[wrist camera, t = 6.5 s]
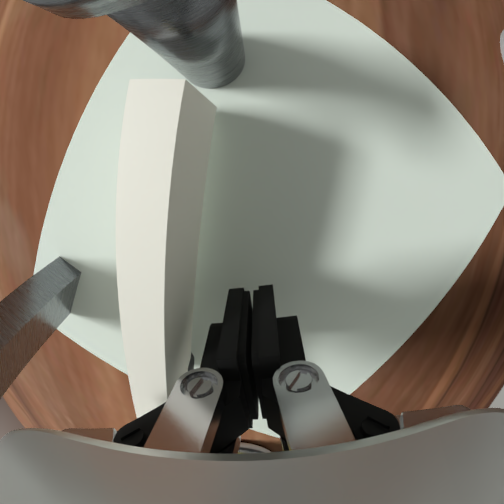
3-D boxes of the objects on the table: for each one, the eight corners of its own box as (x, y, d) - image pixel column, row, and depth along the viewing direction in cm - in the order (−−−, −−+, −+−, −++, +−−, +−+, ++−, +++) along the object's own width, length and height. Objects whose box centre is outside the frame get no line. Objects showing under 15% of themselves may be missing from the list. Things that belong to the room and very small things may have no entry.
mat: (203, -48, 7) (203, -50, 7) (509, 187, 10) (512, 188, 10) (31, 305, 13) (29, 307, 13) (288, 438, 17) (288, 440, 17)
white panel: (181, 105, 9) (102, 72, 4) (224, 109, 9) (185, 69, 4) (165, 363, 14) (133, 456, 8) (195, 369, 14) (173, 466, 8)
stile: (59, 247, 12) (-64, 345, 4) (88, 268, 12) (-28, 388, 4) (48, 298, 13) (-43, 396, 5) (74, 317, 13) (-10, 428, 5)
